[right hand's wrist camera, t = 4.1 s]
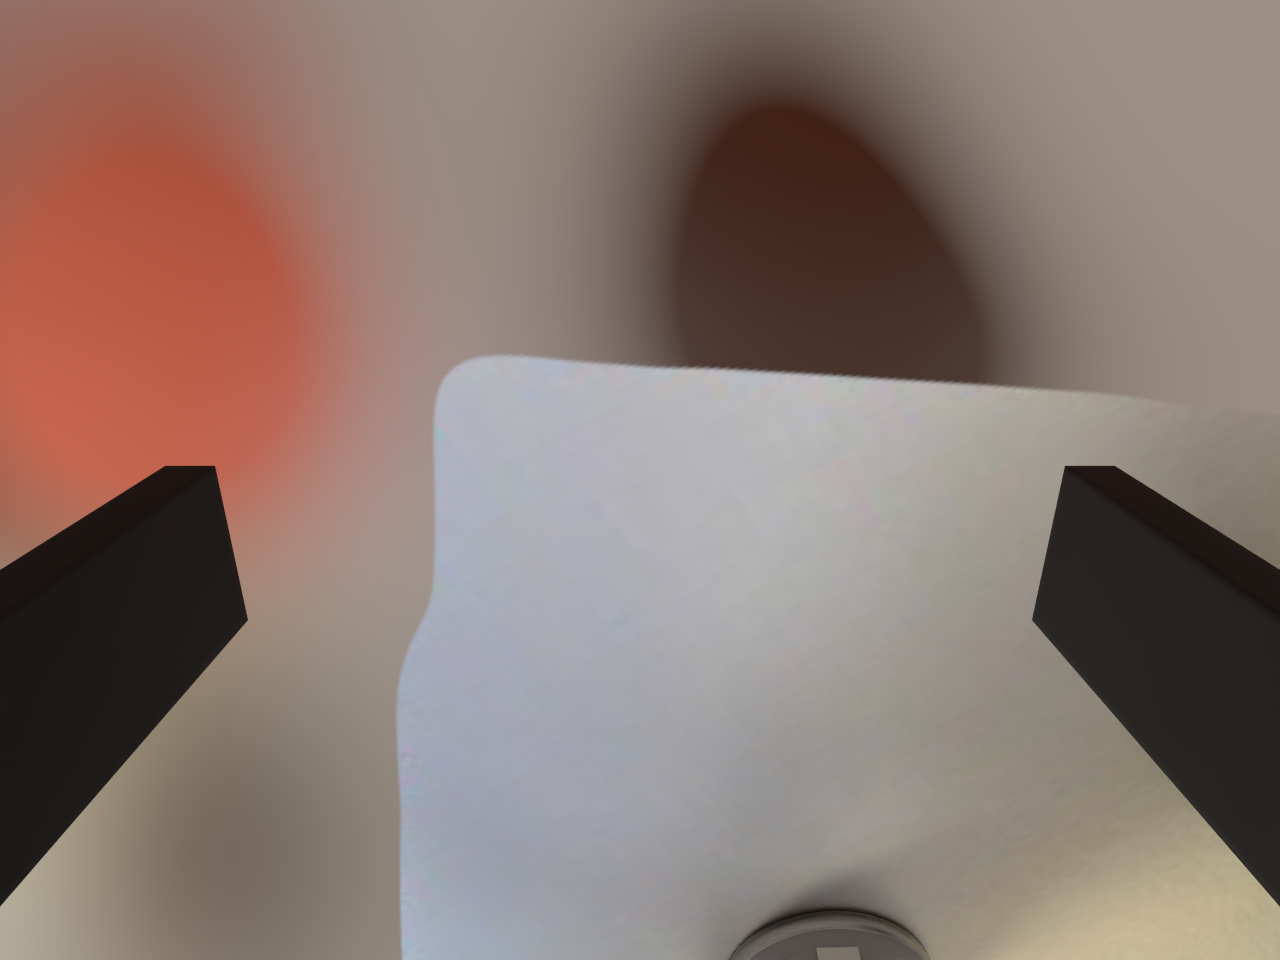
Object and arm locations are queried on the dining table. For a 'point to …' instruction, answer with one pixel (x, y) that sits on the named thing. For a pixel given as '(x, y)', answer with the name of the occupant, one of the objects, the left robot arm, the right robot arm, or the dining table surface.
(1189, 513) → the right robot arm
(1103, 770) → the dining table surface
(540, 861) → the dining table surface
